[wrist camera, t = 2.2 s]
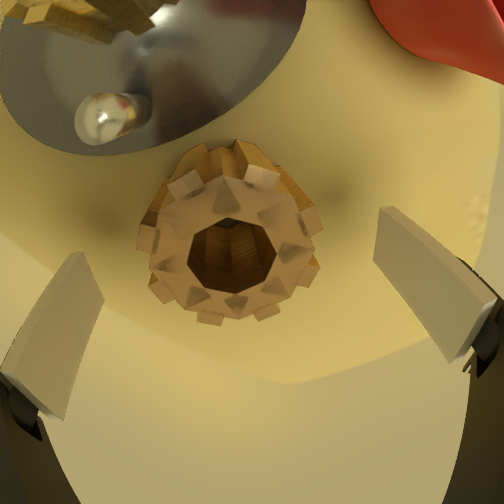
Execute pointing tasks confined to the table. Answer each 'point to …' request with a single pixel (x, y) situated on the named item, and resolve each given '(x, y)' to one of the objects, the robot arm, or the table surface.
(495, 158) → the table surface
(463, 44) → the flower pot
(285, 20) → the carrier
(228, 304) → the gear
